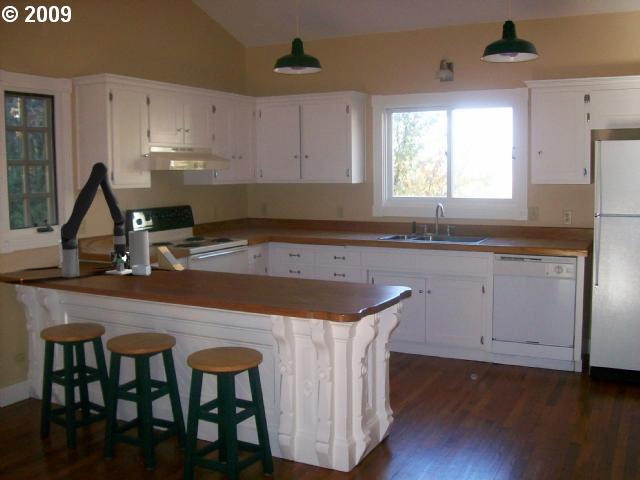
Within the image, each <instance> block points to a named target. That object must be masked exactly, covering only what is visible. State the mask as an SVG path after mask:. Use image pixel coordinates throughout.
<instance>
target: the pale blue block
mask: <svg viewBox="0 0 640 480" xmlns="http://www.w3.org/2000/svg"><path fill="white" fill-rule="evenodd" d="M151 266H152V265H150V264H149V265H134V266H132V269H131V270H132V273H131V274H132V275H133V276H142V277H143V276H144V277H146V276H151V273H152V267H151Z"/></svg>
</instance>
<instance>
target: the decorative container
mask: <svg viewBox="0 0 640 480" xmlns="http://www.w3.org/2000/svg"><path fill="white" fill-rule="evenodd" d="M57 244H58V258H59V261H58V262H59V265H58V266H57V267H58V269H62V262H63V256H62V244H61V239H60V240H57Z"/></svg>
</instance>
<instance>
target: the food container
mask: <svg viewBox="0 0 640 480" xmlns="http://www.w3.org/2000/svg"><path fill="white" fill-rule="evenodd" d="M126 253H128V251H126ZM108 255H109V257H110V258H111V252H109V254H108ZM110 261H111V260H110ZM120 263H124V261H123V260H122V259H118V261H117V264H120ZM111 267H112V268H114V262H113V261H111Z"/></svg>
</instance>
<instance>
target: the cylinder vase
mask: <svg viewBox="0 0 640 480" xmlns="http://www.w3.org/2000/svg"><path fill="white" fill-rule="evenodd" d="M128 245H129V246H128V249H129V250H128V251H129V253H130V262H129V269H130V270H132V266H134V265H150V246H149V245H150V244H149V231H148V230H131V231H128Z"/></svg>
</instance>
